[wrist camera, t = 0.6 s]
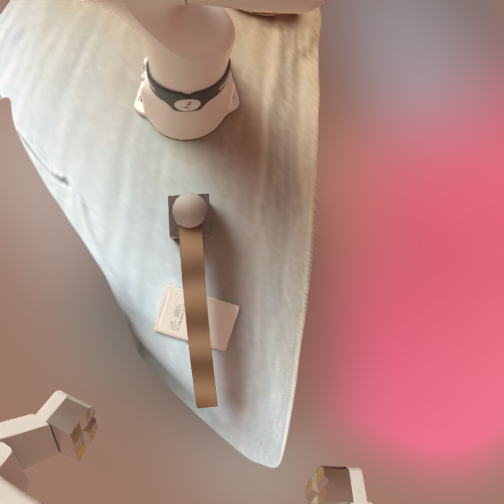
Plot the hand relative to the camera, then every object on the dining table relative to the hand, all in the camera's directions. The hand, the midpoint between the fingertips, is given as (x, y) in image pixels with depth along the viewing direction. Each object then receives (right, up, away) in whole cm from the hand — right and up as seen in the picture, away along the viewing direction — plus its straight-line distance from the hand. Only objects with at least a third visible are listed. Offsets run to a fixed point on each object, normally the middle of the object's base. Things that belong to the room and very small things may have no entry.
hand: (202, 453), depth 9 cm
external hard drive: (-8, -4, +42) cm, 43 cm away
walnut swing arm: (-6, 0, +35) cm, 36 cm away
